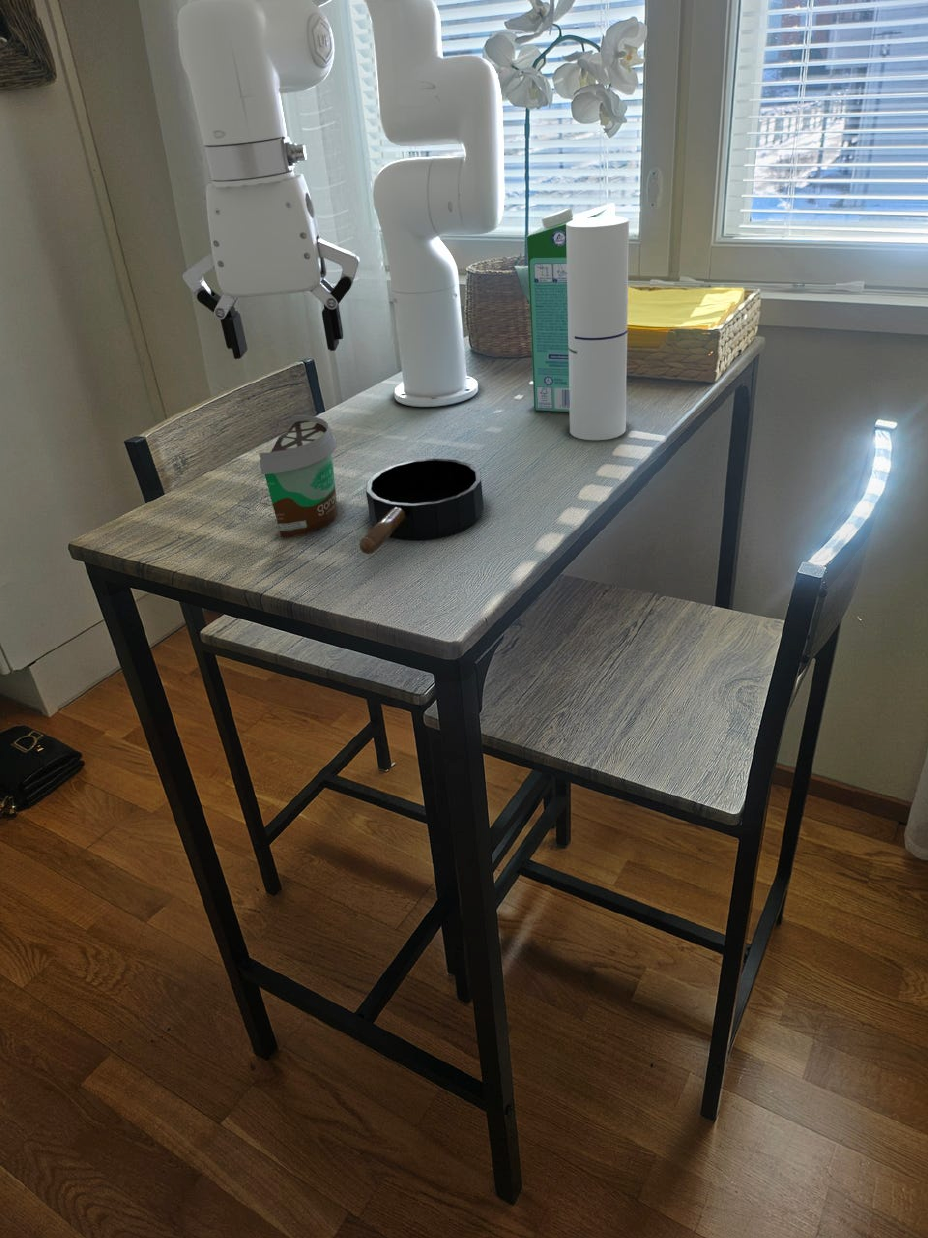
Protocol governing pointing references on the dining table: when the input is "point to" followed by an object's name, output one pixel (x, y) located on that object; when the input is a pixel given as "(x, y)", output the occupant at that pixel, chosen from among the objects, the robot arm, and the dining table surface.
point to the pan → (422, 501)
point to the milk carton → (551, 308)
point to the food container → (302, 476)
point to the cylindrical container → (597, 325)
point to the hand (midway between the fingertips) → (287, 350)
